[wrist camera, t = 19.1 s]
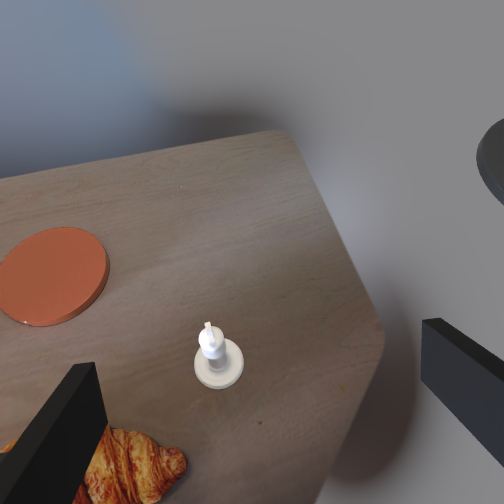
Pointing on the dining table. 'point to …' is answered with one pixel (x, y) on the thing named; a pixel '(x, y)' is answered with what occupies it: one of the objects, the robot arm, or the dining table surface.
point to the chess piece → (217, 359)
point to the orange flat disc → (52, 276)
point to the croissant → (128, 469)
